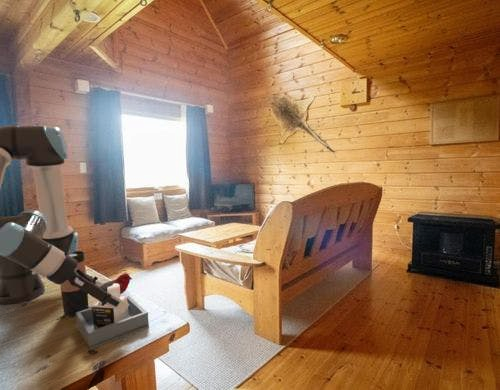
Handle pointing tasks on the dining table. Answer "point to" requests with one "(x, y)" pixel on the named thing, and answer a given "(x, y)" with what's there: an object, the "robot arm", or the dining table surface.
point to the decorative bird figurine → (121, 282)
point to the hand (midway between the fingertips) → (118, 300)
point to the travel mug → (74, 290)
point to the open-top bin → (111, 325)
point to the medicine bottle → (108, 308)
